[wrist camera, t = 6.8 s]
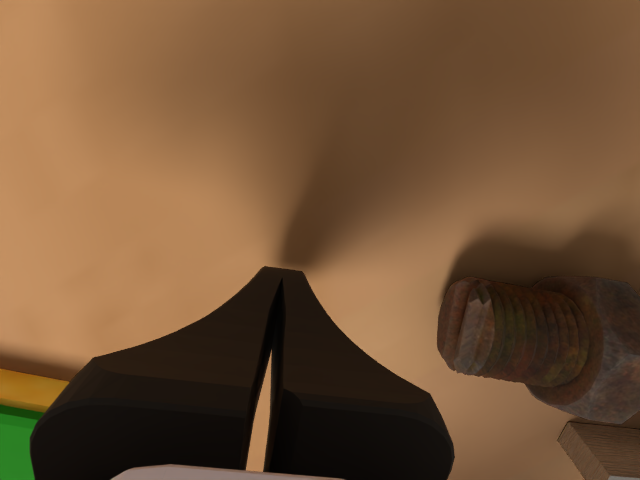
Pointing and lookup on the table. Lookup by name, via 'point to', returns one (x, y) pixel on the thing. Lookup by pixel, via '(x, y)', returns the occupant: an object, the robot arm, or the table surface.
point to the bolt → (549, 340)
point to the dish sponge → (22, 418)
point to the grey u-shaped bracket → (603, 451)
